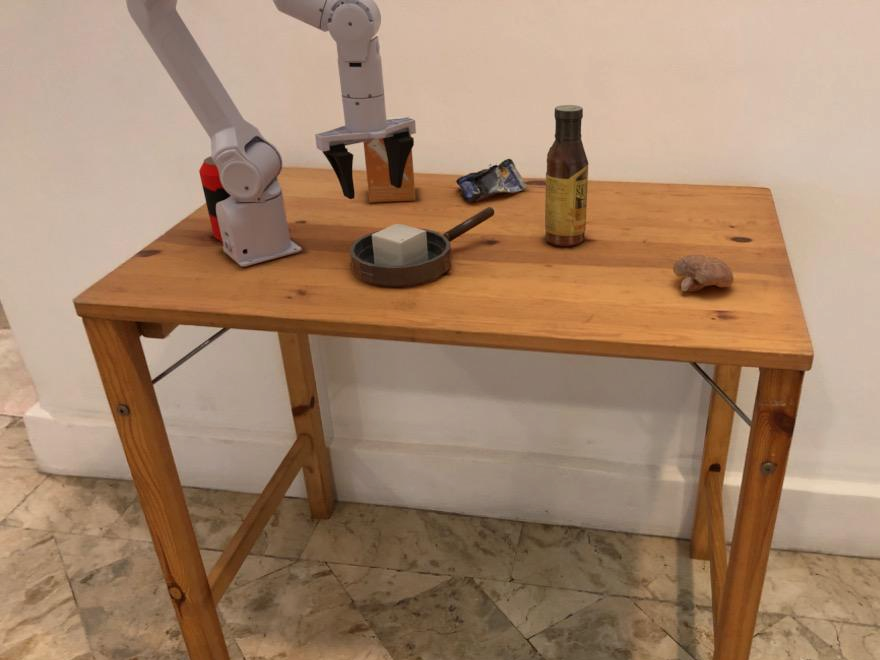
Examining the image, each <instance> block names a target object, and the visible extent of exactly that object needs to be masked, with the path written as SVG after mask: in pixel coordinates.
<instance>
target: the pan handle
mask: <svg viewBox="0 0 880 660" xmlns="http://www.w3.org/2000/svg"><path fill="white" fill-rule="evenodd" d="M494 215H495V209H494V208H493V207H492V206H487V207H486V208H484V209H482V210H481V211H479V212H477V213H476V214H474V215H472V216H470V217H469V218H467V219H465V220H464V221H461V223H459V224H457V225H456V226H454V227H452V228H451V229H448V230H447V231H445V232H444V233H443V234H442V235H443V236H445V237H446V238H447V239H448V240H449V242H450V243H451V242H452V241H454V240H456V239H457V238H459V237H461V236H462V235H464V234H466V233H467V232H469V231H471V230H472V229H474V228H476V227H477V226H479V225H480V224H482V223H483V222H486V221H488V219H490V218H492V217H494Z"/></svg>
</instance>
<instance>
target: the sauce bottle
mask: <svg viewBox="0 0 880 660" xmlns="http://www.w3.org/2000/svg"><path fill="white" fill-rule="evenodd" d="M553 114H554V121H555V127H554V129H555V131H554V132H555V133H554V139H555V140H554V141H553V143H552V144H551V146H550V147H549V149H548V151H547V154H546V172H545V205H544V207H545V209H544V230H545V239H546V242H548V243H549V244H551V245H554V246H558V247H570V246H571V247H572V246H576V245H579V244H581V243H582V242H583V241H584V240H585V233H586V229H587V209H588V208H587V207H588V205H587V204H588V183H589V159H588V157H587V154H586V151H585V148H584V143H583V140H582V136H583V135H582V121H583V117H584V108H583V107H582V106H580V105H575V104H562V105H557V106H555V107H554V113H553Z"/></svg>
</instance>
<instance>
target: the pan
mask: <svg viewBox="0 0 880 660" xmlns="http://www.w3.org/2000/svg"><path fill="white" fill-rule="evenodd" d="M416 228H417V227H416ZM417 229H419V228H417ZM420 229H421V230H425V231H426V237H427V251H428V261H425V262H422V263H418V264H411V265H405V266H384V265H375V262H374V252H373V242H372V234H374V233H376V232H379V231H380V230H378V231H374V232H370V233H368V234H366V235H363V236H361V237H359V238H357V239H356V240H355V241H354V242H353V243H352V244H351V246H350V248H349V258H350V267H351V270H352V273H353V275H355V276H356V277H357V278H358V279H360V280H362V281H364V282H366V283H368V284H370V285H374V286H378V287H384V288H385V287H386V288H404V287H405V288H407V287H413V286H420V285H423V284H426V283H429V282H432V281H434V280H437V279H438V278H440V277H441V276H442V275H444V274H445V273H446V272H447V271H448V270H449V269H450V268H451V266H452V248H451V247H452V246H451V242H449V240H448V239H447V238H446V237H445V236H443V234H441V233H440V232H437V231H434V230H430V229H426V228H420Z"/></svg>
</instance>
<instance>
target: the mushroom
mask: <svg viewBox="0 0 880 660" xmlns="http://www.w3.org/2000/svg"><path fill="white" fill-rule="evenodd" d="M672 270H673V273H674V275H675V276H677V277H685V278H684V279H683V280H682V281H681V284H680V290H681V291H682V292H684V293H685V292H692V293H693V292H697V291H700V290H703V289H704V288H705V287H707V286H716V287H718V288H728V287H730V286H732V283H733V282H734V273H733V270H732V268H730V266H729V265H728V264H727V263H725V262H724V261H721V260H720V259H718V258H717V257H712V256H705V255H702V254H688V255H685V256H682V257H679V258H678V259H677V260H675V261H674V263H673V264H672Z"/></svg>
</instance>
